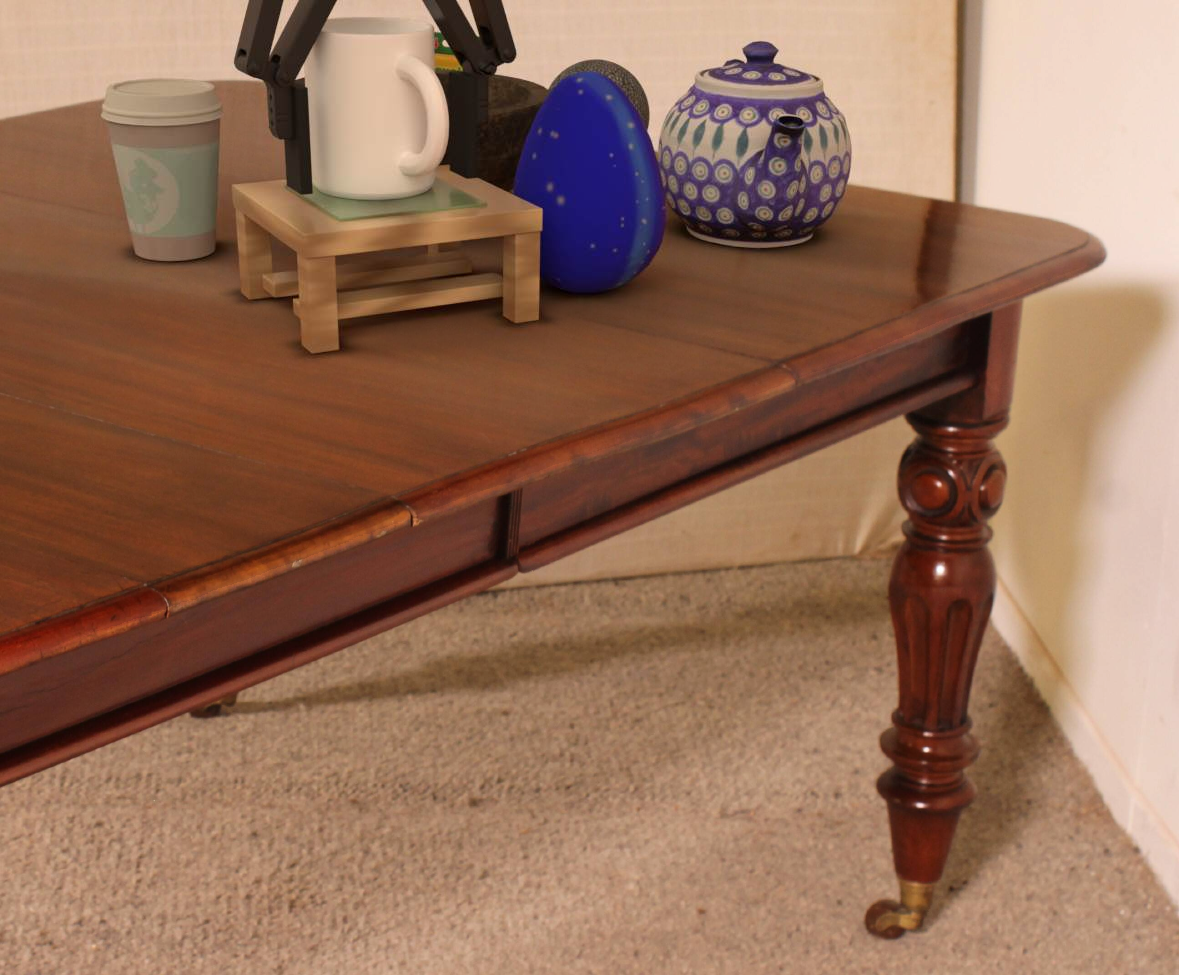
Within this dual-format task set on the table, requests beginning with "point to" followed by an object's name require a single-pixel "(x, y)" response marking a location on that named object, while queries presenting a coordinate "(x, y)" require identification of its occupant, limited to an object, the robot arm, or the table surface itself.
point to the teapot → (754, 153)
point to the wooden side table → (380, 225)
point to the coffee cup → (167, 163)
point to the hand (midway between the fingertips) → (383, 181)
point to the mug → (375, 108)
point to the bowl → (500, 125)
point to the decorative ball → (618, 76)
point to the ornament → (592, 186)
